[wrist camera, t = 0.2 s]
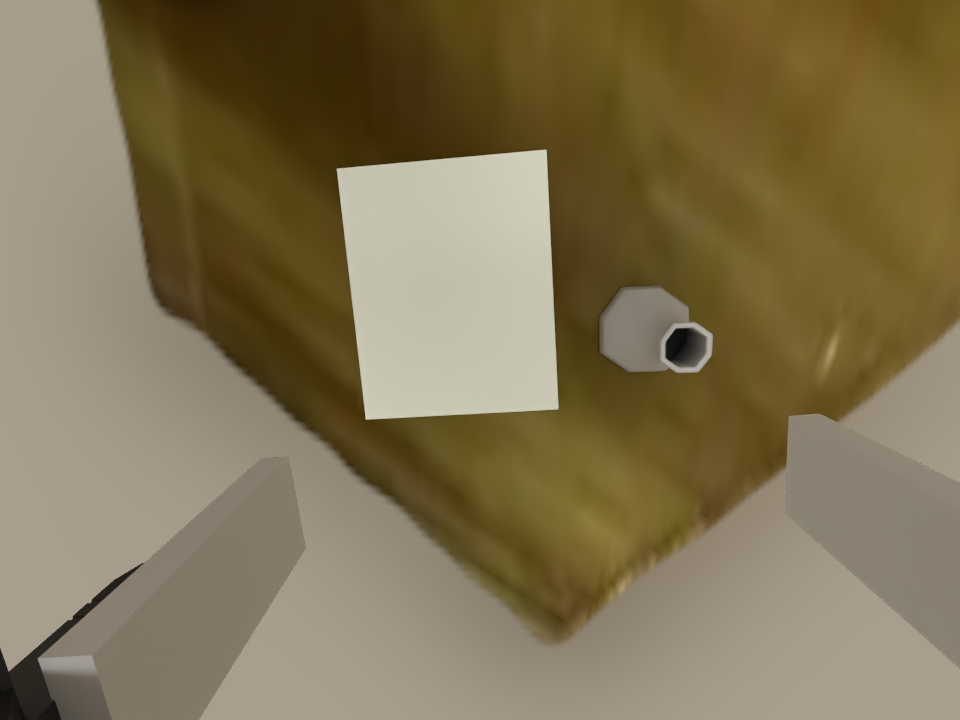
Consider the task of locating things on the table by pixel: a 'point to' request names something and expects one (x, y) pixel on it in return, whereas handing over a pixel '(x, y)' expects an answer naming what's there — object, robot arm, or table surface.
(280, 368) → the table surface
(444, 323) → the white rectangular board
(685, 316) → the flask
